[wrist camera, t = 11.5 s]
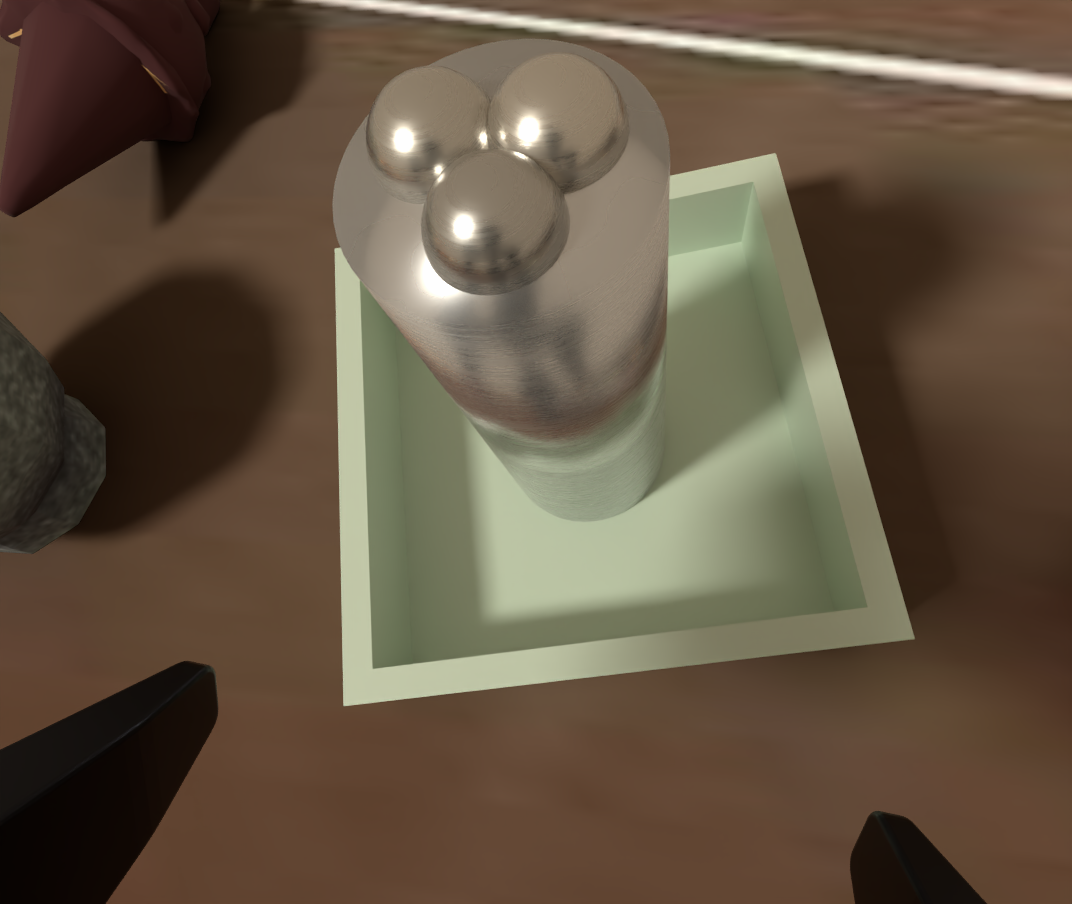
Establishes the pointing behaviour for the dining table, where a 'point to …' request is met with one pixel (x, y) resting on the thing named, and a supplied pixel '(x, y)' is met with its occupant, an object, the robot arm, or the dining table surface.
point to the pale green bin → (644, 529)
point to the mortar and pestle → (42, 449)
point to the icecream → (97, 85)
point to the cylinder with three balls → (525, 257)
